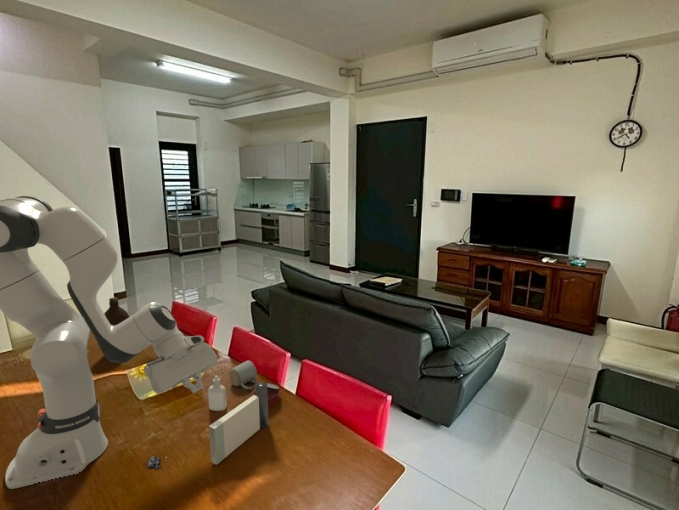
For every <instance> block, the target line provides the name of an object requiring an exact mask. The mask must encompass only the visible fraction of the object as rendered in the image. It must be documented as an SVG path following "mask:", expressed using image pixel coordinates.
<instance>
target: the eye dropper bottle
mask: <svg viewBox="0 0 679 510" xmlns="http://www.w3.org/2000/svg"><path fill="white" fill-rule="evenodd" d="M207 393H208V408H209V410H211V411H215V412H221V411H225V410H226V408H227V406H228V405H227V390H226V386H224V385H222V384H221V379H220V378H218V375H215V376H214V378H213V379H212V385H210V386H209V388H208V389H207Z"/></svg>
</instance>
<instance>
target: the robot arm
mask: <svg viewBox="0 0 679 510" xmlns="http://www.w3.org/2000/svg"><path fill="white" fill-rule="evenodd" d="M37 244H41V245H44V246H46V247H48V248H49V249H50V250H51V251H52V252H53V253H54V254H55V255H56V256H57V257H58V258H59V259H60V261H61V262H63V265H65V267H66V269H67V271H68V275H69V281H68V283H66V287H67V288H66V289H67V292H68V294H69V296H70V298H71V299H70V300H71V301H72V302H73V305H74V306H75V307H76V309H77V310H78V311H76V309H74V308H73V307H72V306H71V305H70V304H69V303H68V302H67V301H65V299H63V297H62V296H61V295H59V293H58V291H56V289H55V288H54V287H53V286H52V284H51V283H50V282H49V281H48V279H47V278H46V276H45V275H44V274H43V272H42V271H41V269H40V268H39V267H38V266H37V265H36V263H35V262H34V261H33V260H32V258H31V257H30V254H29V251H28V250H29V248H33V247H35V246H36V245H37ZM117 264H118V253H117V251H116V249H115V247H114V246H113V245H112V243H111V241H110V240H109V239H108V237H106V235H105V234H104V233H103V232H102V231H101V229H100V228H99V227H98V226H97V225H96V224H95V223H94V222H93V221H92V220H91V219H90V218H88V217H87V216H86V215H85V214H84V213H83V212H81V210H79V209H77V208H75V207H72V206H64V207H58V208H55V209H53V207H52V206H51V205H50V204H49V203H47V202H46V201H44V200H42V199H41V198H37V197H34V196H29V195H22V196H15V197H11V198H5V199H1V200H0V310H1V312H2V314H4V315H5V316H6V318H7V319H8V320H9V321H11V322H14V323H17V324H18V325H20V326H21V327H23V328H24V329H26V330H27V331H28V332H29V333H31V334H32V335H33V336H34V338H35V340H34V343H33V344H32V346H31V348H30V365H31V367H32V368H31V369H33V371H35V375H36V377H37V378H38V381H39V384H40V386H41V389H42V395H43V401H44V406H45V408H41V409H39V410H38V411H37V415H36V418H37V426H38V427H37V428H36V429H35V430H34V431H33V432H31V433H30V434H29V435H27V436H26V437H25V438H24V439H23V440H22V442H21V443H20V445H19V446H18V449H17V452H16V455H15V457H14V458H13V459H12V460H11V461H10V462H9V465H8V466H7V468H6V471H5V475H4V476H5V477H4V481H5V486H6V487H7V488H8V489H10V490H14V489H19V488H22V487H27V486H31V485H35V483H36V484H39V483H38V482H40V483H44V482H49V481H51V479H53V480H56V479H55V478H57V479H60V478H59V477H61V478H64V477H63V476H65V477H69V475H70V476H74V475H77V474H80V473H81V472H83V470H85V468H86V467H88V465H89V464H90V463H92V462H93V461H95V460H97V459H98V458H99V457H100V456H101V455H102V454H103V453H104V452H105V451H106V449H107V447H108V445H109V440H108V438H107V437H106V435H105V433H104V430H103V428H102V424H101V420H100V419H101V418H100V417H101V411H100V404H99V402H98V398H97V397H96V393H95V383H94V375H93V373H92V371H91V368H90V364H89V359H88V355H87V351H88V349H87V348H88V341H89V338H90V334H91V333H92V335H93V337H94V339H95V341H96V343H97V344H98V347H99V349H100V351H101V353H102V354H103V356H104V358H106V360H108V361H109V362H110V363H118V364H119V363H120V364H125V363H128V362H130V361H131V360H132V359H133V358H135V357H136V356H137V355H138V354H139V353H141V352H142V351H144V350H145V349H147V348H148V347H150V346H151V345H152V347H153V350H154V353H155V354H156V356H157V358H156V359H154V360H152V361H149V362H147V363H145V365H144V368H143V372H144V374H145V375H146V377H147V378H148V380H149V383H150V385H151V387H152V390H153V392H154V393H155V394H157V395H161V394H163V393H164V392H167V391H169V390H171V389H173V388H174V387H176V386H178V385H181V384H182V385H183V387H184V388H187V389H188V390H190V391H191V393H193V394H195V393H197V392H199V391H201V390H202V389H204V388H205V387H204V384H203V383H202V374H201V373H203V372H205V371H207V370H208V369H210V368H212V367H214V366H215V365H216V364H217V362H218V360H219V359H218V355H217V354H216V352H215V350H213V348H212V347H211V346H210V345H209V344H208V343H206V342H205V337H203V336H202V335H193V336H191V335H189V336H188V335H187V336H185V335H184V333H183V332H182V331H180V330H179V328H178V325H177V319H176V318H175V317H174V315H173V314H172V312H171V311H170V309H169V308H168V307H167V306H164V305H163V304H162V303H160V302H158V301H151V302H148V303H146V304H144V305H142V306H141V307H140V308H138V310H137V311H136V312H135V313H134V314H132V315H131V316H129V318H127V319H126V320H124V321H123V322H121V323H119V324H118V325H115V326H113V325H111V324H110V323H109V321H108V320H107V318H106V316H105V314H104V313H105V312H104V311H103V310H102V308H101V306H100V304H99V302H98V300H97V295H98V292H99V291H100V289H101V287H102V286H103V285H104V284H105V283H106V282H107V280H108V279H109V278H110V276H111V275H112V274H113V272H114V271H115V268H116V267H117ZM78 312H79V313H78ZM191 378H192V379H193V380H195V384H193V383H192V382H191ZM79 472H80V473H79ZM73 474H74V475H73ZM48 480H49V481H48ZM43 481H44V482H43Z"/></svg>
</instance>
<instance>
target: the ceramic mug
mask: <svg viewBox="0 0 679 510" xmlns="http://www.w3.org/2000/svg"><path fill="white" fill-rule="evenodd" d="M257 372H258V371H257V369H256V366H255V364H254V363H253V362H252V361H251V360H246V361H245V360H244V362H242V363H240V364H238V365H236V366H234V367H233V368H232V369H230V371H229V374H228V376H229V377H228V378H229V379H230V382H231V384H232V385H233V386H234V387H236V388H237V387H242V388H244V389H245V390H247V391H250V390H251V391H252V390H253V388H255V385H256V384H257V383H254V385H251V386H248V385H245V384H247V383H251V381H252V380H253V381H256V382H258V378H257V377H258V373H257Z"/></svg>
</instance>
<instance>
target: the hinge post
mask: <svg viewBox="0 0 679 510" xmlns="http://www.w3.org/2000/svg"><path fill="white" fill-rule="evenodd" d="M267 384H268V383H267V382H265V381H259V382H258V383H257V384H256V385H255V384H254V385H255V388H256V396H258V397H259V421H260V429H259V430H264V429H266V428H267V427H268V426H269V406H268V394H267Z"/></svg>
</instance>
